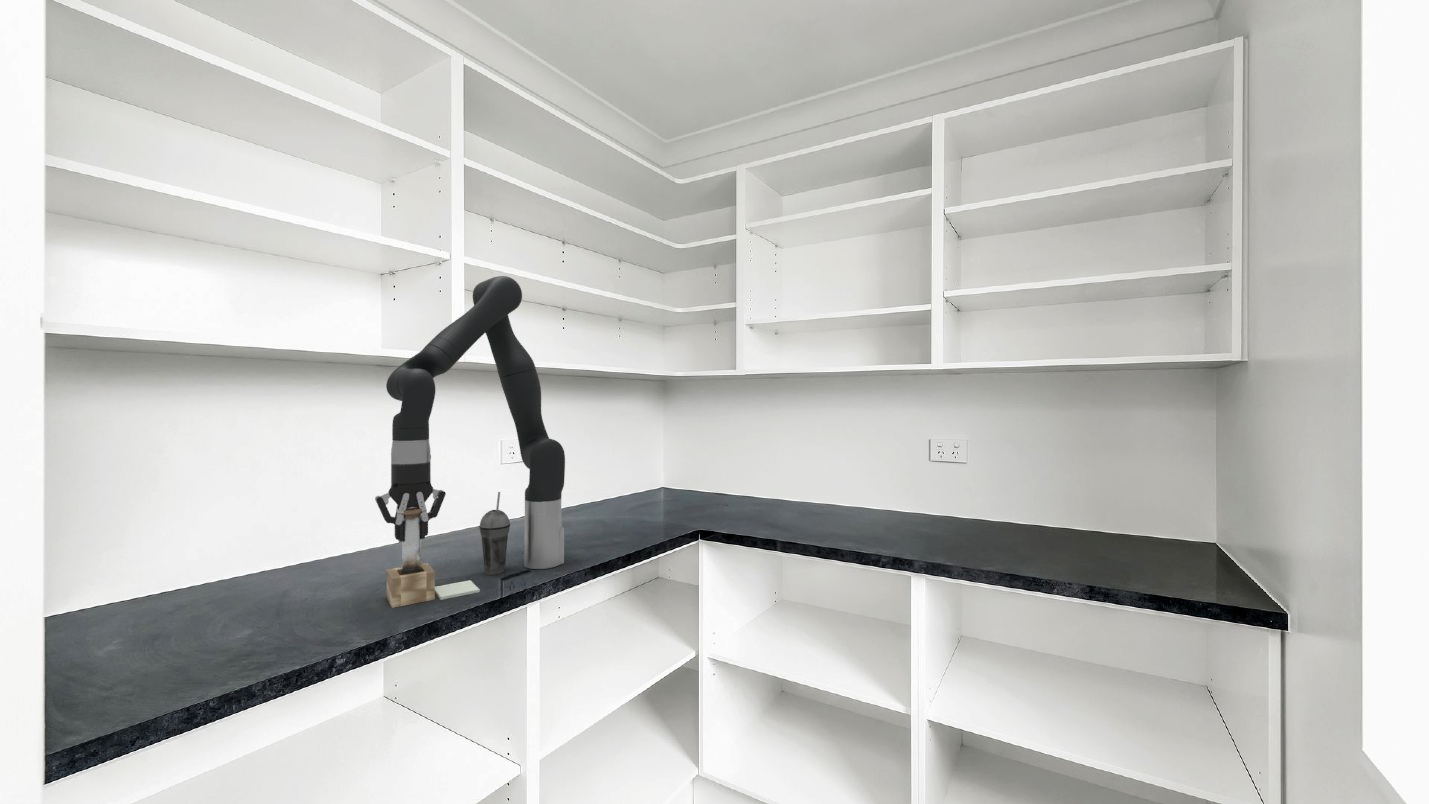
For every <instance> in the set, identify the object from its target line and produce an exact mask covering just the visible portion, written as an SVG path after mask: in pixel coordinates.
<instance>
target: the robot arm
mask: <svg viewBox="0 0 1429 804" xmlns="http://www.w3.org/2000/svg"><path fill="white" fill-rule="evenodd" d="M522 300H523V292H522V289H521V286H520V285H519V283H518V282H517V281H516V279H513V278H512V277H510V276H506V275H498V276H495V277H491V278H489V279H486V280H484V281H481V282H479V283H477V285H475V286H474V288H473V291H472V302H473V303H472V304H473V306H472V307H471V308H470V309H468V311H466V312H465V313H464V314H462V315H461V316H460V317H458V318H457V319H455V320H454V321H453V322H452V323H450V324H448V326H446V327H445V328H444V329H442V330H440V332H438V333H437V334H436V335H435V336H434V337H433V338H432V339H431V340H430V341H429V342H428V343H427V344H426V345H425V346H424V347H423V348H422V350H420V351H419V352H418V353H416V354H415V355H413V356H412V357H410V358H409V359H407V360H406V361H404V362H403V363H402V364H400V365H399V366H397V368H396V369H394V370H393V371H392V372H391V374H390V375H389V376H388V378H387V381H386V391H387V393H388V395H389V396H390V397H391V398H392V399H394V400H396V401H399V402H401V405H400V411H399V412H397V414H395V415H394V416H393V418H392V427H391V429H392V435H391V438H392V440H391V441H392V443H391V450H390V452H391V453H390V480H391V481H390V488H389V490H388V492H387V493H384V494H382V495H377V496H375V498H374V500H375V503H376V504H377V505H376V506H377V507H378V509H379V511H380V513H381V515H382V517H383V519H384V521H385V522H386V523H387V524H392V525H394V538H395V539H396V540H397V541H398V543H402V542H403V524H402V520H403V516H404V515H402V514H403V513H404V510H406V508H410V507H419V508H420V509H422V512H423V513H420V514H421V540H424V539H425V538H426V536H428V534H429V521H430V520H432V519H435V518H437V517H438V515H439V512H440V509H441V508H442V507H441V506H442V505H443V502H444V500H445V497H446V491H444V490H442V489H436V488H434V487H433V486H432V481H431V479H432V477H431V475H432V474H431V471H432V470H431V466H432V465H431V461H432V454H431V444H430V417H431V414H432V411H433V407H434V402H435V397H436V382H435V379H434V378H435V377H437V376H440V375H443V374H445V373H447V372H448V371H450V369H451V368H452V367H453V366H454V365H455V364H456V363H457V362H459V360H460V359H461V358H462V357H463V356H464V355H466V353H467V352H468V350H469V349H470V348H471V347H472V346H473V345H474V344H475V343H476V342H477V341H478V340H479V339H480V338H481V337H482V336H483V335H484V334H485V335H486V337H487V340H488V344H489V348H490V350H491V354H492V356H493V359H494V360H493V361H494V363H495V367H496V371H497V374H498V377H499V381H500V384H501V388H502V391H503V394H504V397H505V399H506V403H507V405H508V409H509V412H510V414H511V417H512V419H513V422H514V426H515V429H516V435H517V440H518V446H519V451H520V456H521V460H522V462H523V464H524V466H526V468H527V469H529V476H528V477H529V479H528V484H527V485H528V486H527V487H526V488H525V490H524V558H523V559H524V567H525V568H527V569H532V570H544V569H545V570H546V569H551V568H552V569H553V568H555V567H558V566H560V565H563V564H565V528H564V526H562V492H563V490H564V486H565V474H566V473H565V472H566V471H565V470H566V455H565V449H564V447H563V445H562V444H561V443H560V442H559V441H557V440H555V439H552V438H550V437H549V434H548V432H547V429H546V426H545V423H544V420H543V415H542V388H541V383H540V378H539V375H538V371H537V368H536V365H535V362H534V360H533V358H532V356H531V355H530V354H529V352H528V351H527V350H526V348H525V347H524V345H522V343H521V342H520V341H519V339H518V337H516V335H515V333H514V331H513V328H512V324H511V322H510V318H509V315H510V314H511V313H512V312H514V311H516V309H518V308H519V306H521V305H520V304H521V303H522ZM431 495H432V499H434V500H433V503H432V505H431V507H430V510H429V511H428V510H427V505H426V502H427V500H429V498H430V496H431ZM389 499H392V500H393V502H395V504H396V508H395V514H394V516H392V515H391V513H390V511H389V508H388V507H387V505H388V504H389V503H390V501H389ZM402 508H403V509H402ZM427 511H428V512H427Z"/></svg>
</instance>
